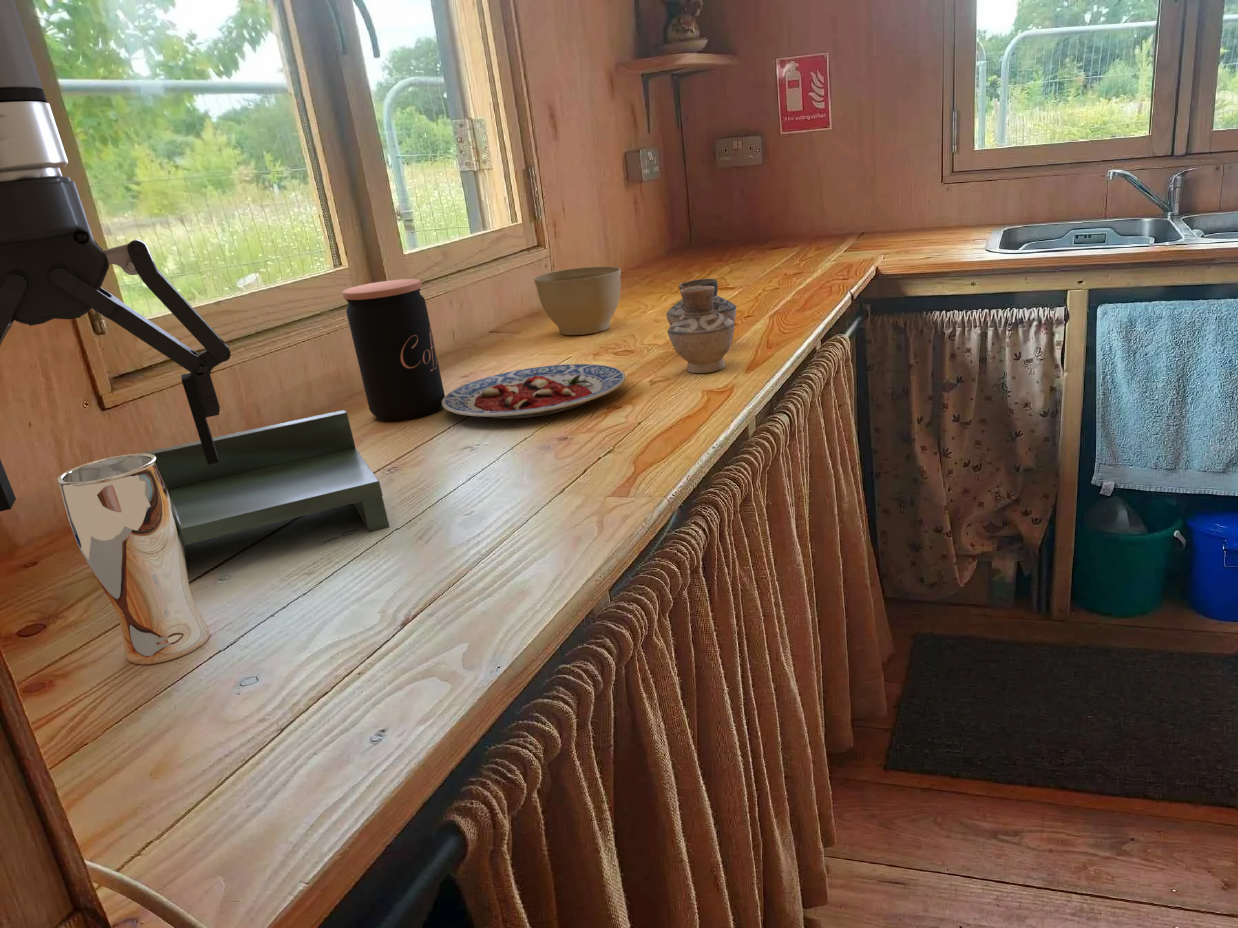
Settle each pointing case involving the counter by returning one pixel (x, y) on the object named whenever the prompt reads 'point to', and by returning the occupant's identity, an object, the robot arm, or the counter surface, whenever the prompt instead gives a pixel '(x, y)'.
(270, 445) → the shelf
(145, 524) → the beer glass
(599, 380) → the ceramic plate
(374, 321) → the coffee jar
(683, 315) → the pottery
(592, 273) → the planter bowl
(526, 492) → the counter surface
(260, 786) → the counter surface
